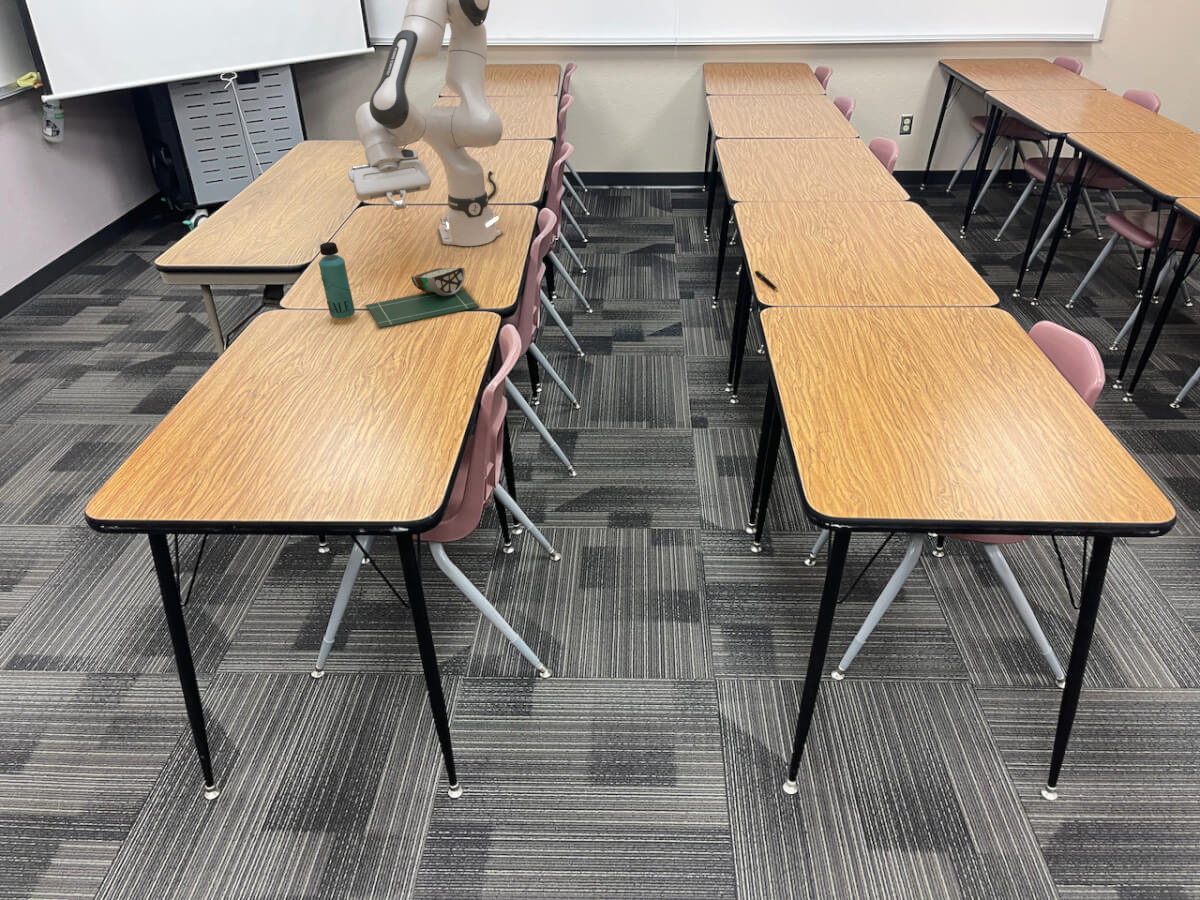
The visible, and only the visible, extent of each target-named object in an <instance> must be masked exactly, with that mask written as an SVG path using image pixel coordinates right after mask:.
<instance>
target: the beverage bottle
mask: <svg viewBox="0 0 1200 900" xmlns="http://www.w3.org/2000/svg"><path fill="white" fill-rule="evenodd" d="M319 249H320V255H322V258H320V260H319V261H318V266H319V270H320V272H319V273H320V275H321V277H320V278H321V282H322V286H323V288H324V289H323V290H324V295H325V299H326V304H327V305H326V306H327V308H328V314H329V315H330V317H331V318H333V319H336V320H337V319H338V320H342V319H347V318H350V317H353V316H354V315H355V313H356V310H355V309H356V308H355V305H354V299H353V295H352V289H351V287H350V281H349V276H348V271H347V266H346V260H345V259H344V258H343V257H342V256H341V255H339V254H338V253H339V248H338V246H337V243H336V242H332V241H328V242H324V243H321V244H320V245H319Z"/></svg>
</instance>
